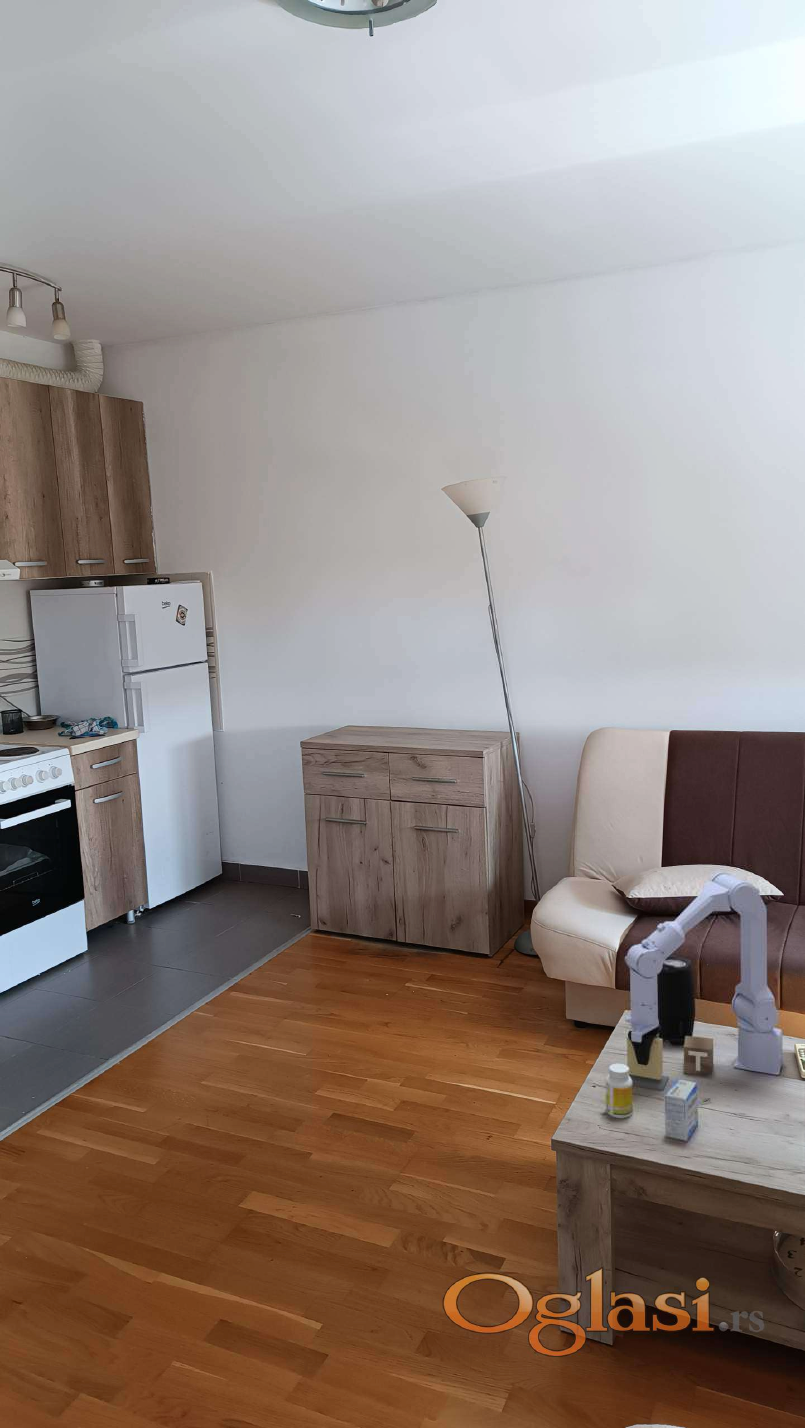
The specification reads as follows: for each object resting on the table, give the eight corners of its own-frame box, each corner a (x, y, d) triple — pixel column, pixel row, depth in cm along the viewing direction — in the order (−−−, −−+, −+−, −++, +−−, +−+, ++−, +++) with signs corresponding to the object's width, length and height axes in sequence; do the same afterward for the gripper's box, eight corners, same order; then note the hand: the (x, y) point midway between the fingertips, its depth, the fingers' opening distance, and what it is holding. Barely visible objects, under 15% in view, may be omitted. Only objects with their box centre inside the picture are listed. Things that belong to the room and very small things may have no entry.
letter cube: (713, 1064, 222) (713, 1038, 221) (712, 1076, 216) (712, 1050, 216) (685, 1061, 224) (685, 1035, 223) (684, 1073, 218) (683, 1047, 218)
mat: (668, 1078, 216) (668, 1076, 216) (662, 1090, 211) (662, 1088, 211) (628, 1071, 220) (628, 1069, 220) (621, 1083, 215) (621, 1080, 215)
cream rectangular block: (662, 1073, 215) (662, 1038, 214) (659, 1079, 212) (659, 1044, 211) (631, 1068, 218) (630, 1033, 217) (627, 1073, 216) (627, 1038, 215)
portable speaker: (656, 1030, 241) (655, 952, 239) (696, 1034, 238) (695, 956, 236) (653, 1044, 233) (652, 965, 231) (694, 1049, 230) (694, 968, 228)
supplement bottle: (600, 1112, 203) (600, 1067, 202) (617, 1103, 206) (616, 1059, 205) (621, 1121, 199) (621, 1076, 198) (638, 1112, 202) (637, 1067, 201)
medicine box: (687, 1142, 190) (686, 1099, 189) (664, 1136, 193) (664, 1094, 192) (698, 1124, 197) (698, 1082, 196) (676, 1118, 199) (676, 1077, 198)
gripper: (634, 986, 222) (634, 1044, 223) (616, 1010, 209) (617, 1071, 210) (665, 990, 219) (666, 1049, 220) (650, 1015, 206) (650, 1077, 207)
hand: (644, 1060), depth 215 cm, fingers closed on cream rectangular block, 3 cm apart
